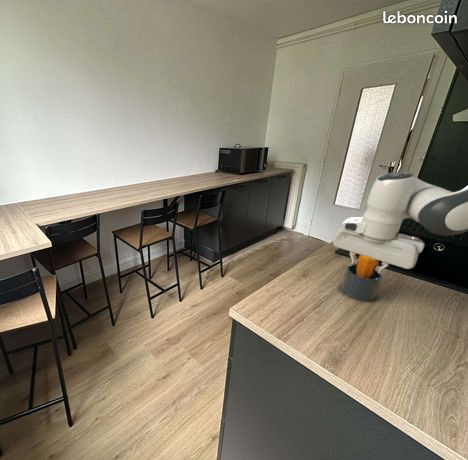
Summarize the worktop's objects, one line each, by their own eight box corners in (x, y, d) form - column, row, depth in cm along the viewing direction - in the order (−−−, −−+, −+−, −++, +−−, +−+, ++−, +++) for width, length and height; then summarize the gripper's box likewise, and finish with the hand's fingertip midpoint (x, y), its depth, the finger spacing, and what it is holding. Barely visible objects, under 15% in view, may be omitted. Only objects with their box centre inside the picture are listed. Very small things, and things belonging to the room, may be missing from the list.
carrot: (371, 283, 82) (385, 242, 76) (369, 290, 79) (383, 248, 73) (352, 278, 85) (364, 238, 79) (349, 284, 82) (362, 243, 76)
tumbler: (378, 293, 82) (386, 272, 79) (368, 304, 78) (376, 283, 74) (347, 281, 89) (353, 261, 86) (336, 291, 84) (342, 270, 81)
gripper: (430, 236, 68) (412, 279, 73) (344, 217, 83) (334, 253, 89) (424, 243, 65) (405, 287, 70) (336, 221, 80) (326, 259, 85)
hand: (365, 268), depth 80 cm, fingers closed on carrot, 5 cm apart
